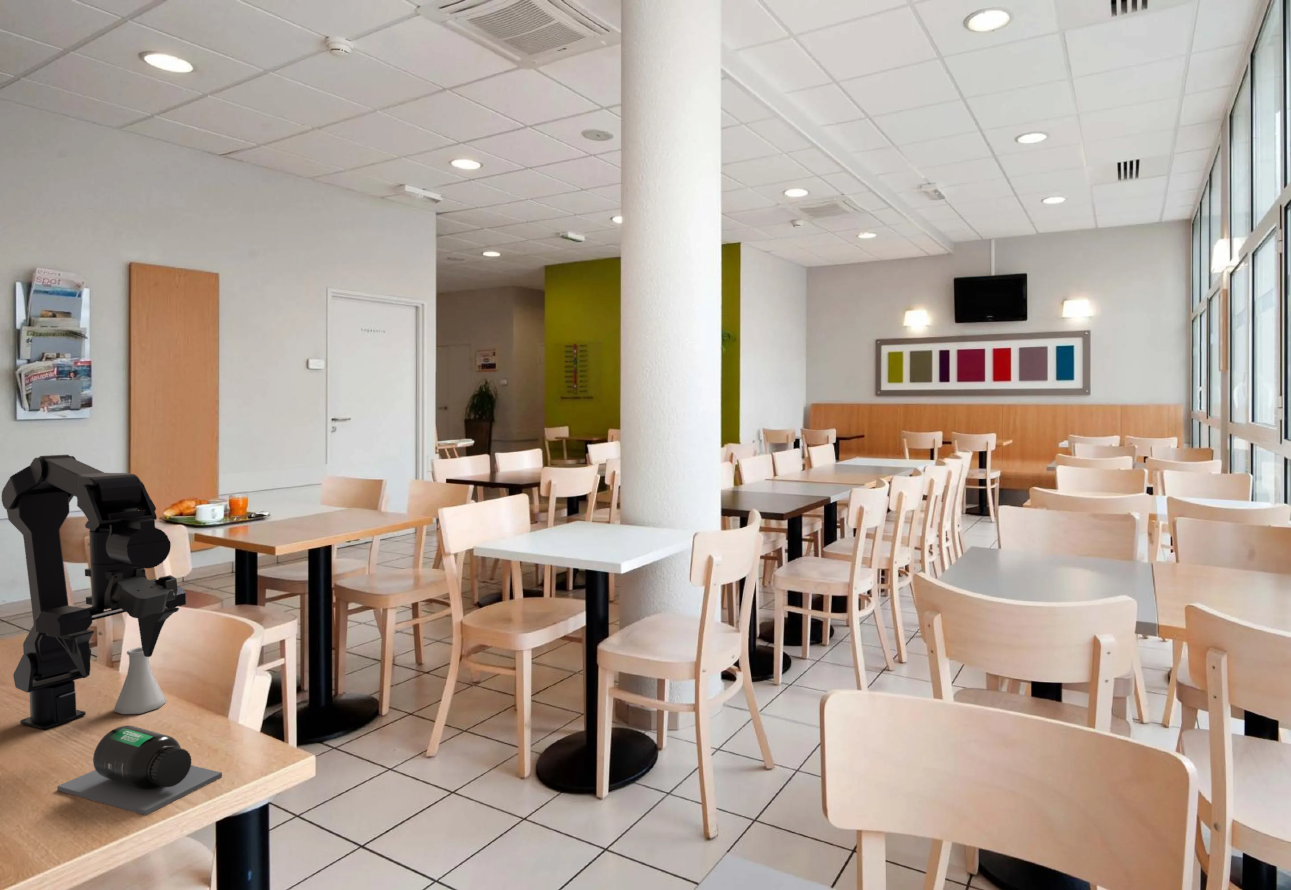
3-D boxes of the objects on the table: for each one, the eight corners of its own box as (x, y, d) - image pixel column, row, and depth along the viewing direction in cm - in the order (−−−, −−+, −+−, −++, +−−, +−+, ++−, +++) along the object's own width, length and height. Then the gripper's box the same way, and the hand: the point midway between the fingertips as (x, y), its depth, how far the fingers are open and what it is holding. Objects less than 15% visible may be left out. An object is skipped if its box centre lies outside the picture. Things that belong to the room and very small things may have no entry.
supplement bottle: (97, 727, 106) (155, 744, 101) (146, 721, 112) (203, 737, 107) (85, 781, 105) (143, 800, 100) (136, 772, 111) (193, 790, 106)
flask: (141, 717, 130) (139, 657, 129) (104, 714, 131) (102, 655, 131) (175, 701, 137) (173, 644, 137) (139, 698, 138) (138, 642, 138)
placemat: (57, 790, 105) (57, 785, 105) (137, 756, 116) (137, 752, 116) (145, 815, 99) (145, 810, 99) (222, 776, 109) (221, 772, 109)
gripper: (85, 578, 104) (89, 695, 105) (210, 553, 121) (213, 653, 122) (31, 571, 108) (35, 684, 109) (159, 548, 125) (162, 645, 126)
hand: (118, 665), depth 116 cm, fingers open, 9 cm apart
